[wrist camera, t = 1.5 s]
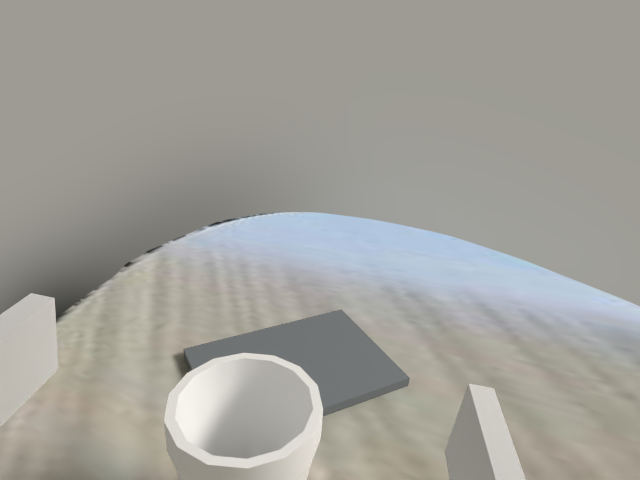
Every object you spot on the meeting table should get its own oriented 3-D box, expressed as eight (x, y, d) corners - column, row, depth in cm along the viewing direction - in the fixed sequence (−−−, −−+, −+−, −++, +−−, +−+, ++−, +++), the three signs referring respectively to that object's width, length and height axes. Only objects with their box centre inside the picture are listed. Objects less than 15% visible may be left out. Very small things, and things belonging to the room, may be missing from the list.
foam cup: (148, 560, 33) (129, 418, 27) (234, 463, 40) (232, 337, 35) (262, 645, 29) (265, 498, 23) (333, 520, 36) (348, 387, 31)
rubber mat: (340, 316, 61) (341, 309, 61) (408, 385, 50) (409, 377, 50) (184, 356, 52) (183, 348, 52) (224, 451, 41) (224, 443, 41)
